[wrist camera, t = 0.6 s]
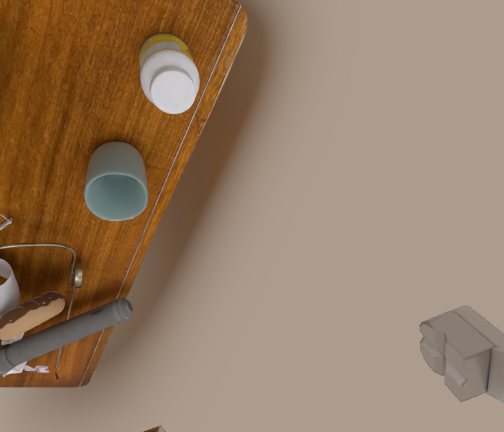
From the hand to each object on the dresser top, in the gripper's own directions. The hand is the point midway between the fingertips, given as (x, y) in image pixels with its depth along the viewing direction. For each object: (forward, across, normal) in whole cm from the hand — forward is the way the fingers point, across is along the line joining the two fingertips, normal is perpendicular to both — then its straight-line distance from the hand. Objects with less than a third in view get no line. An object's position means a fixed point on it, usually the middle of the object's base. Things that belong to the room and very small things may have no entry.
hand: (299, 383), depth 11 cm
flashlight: (+49, +32, +31) cm, 66 cm away
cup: (+49, +10, +4) cm, 51 cm away
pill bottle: (+46, -1, -7) cm, 46 cm away
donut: (+46, +31, +26) cm, 61 cm away
